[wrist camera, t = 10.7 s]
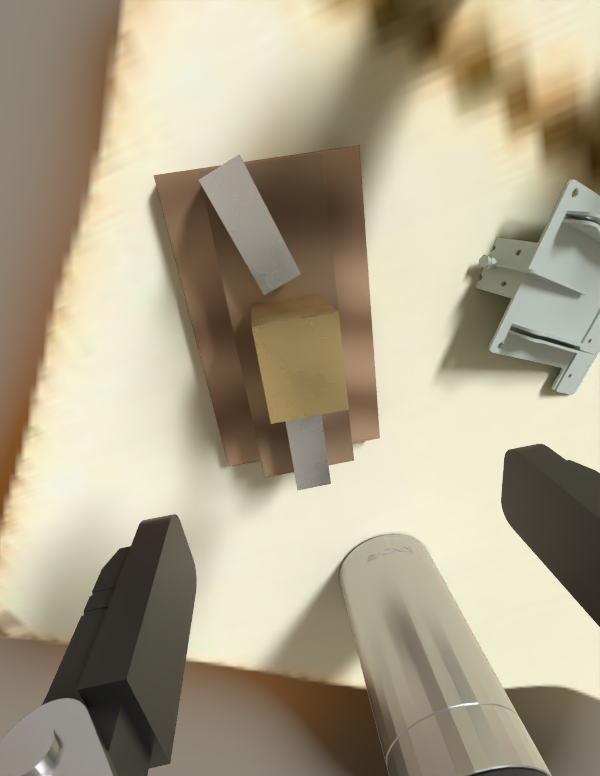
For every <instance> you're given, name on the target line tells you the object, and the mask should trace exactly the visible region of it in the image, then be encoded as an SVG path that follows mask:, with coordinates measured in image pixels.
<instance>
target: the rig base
mask: <svg viewBox="0 0 600 776" xmlns="http://www.w3.org/2000/svg"><path fill="white" fill-rule="evenodd" d="M244 164H245V166H246V168H247V170H248V172H249V174H250V176H251V178H252V180H253V182H254V184H255V186H256V187H257V189H258V191H259V193H260V195H261V197H262V199H263V201H264V203H265V205H266V207H267V209H268V211H269V213H270V215H271V217H272V219H273V221H274V222H275V224H276V226H277V228H278V230H279V232H280V234H281V236H282V238H283V240H284V242H285V244H286V246H287V248H288V250H289V252H290V254H291V255H292V257H293V259H294V261H295V263H296V265H297V267H298V269H299V271H300V273H301V274H300V275H299V276H297V277H295V278H294V279H292V280H290V281H288V282H287V283H285V284H283V285H281V286H280V287H278V288H276V289H274V290H273V291H271V292H269V293H267V294H266V295H264V294H263V292H262V291H261V289H260V287H259V285H258V284H257V282H256V280H255V278H254V277H253V275H252V273H251V271H250V270H249V268H248V266H247V264H246V263H245V261H244V259H243V257H242V255H241V254H240V252H239V250H238V248H237V247H236V245H235V243H234V241H233V240H232V238H231V236H230V234H229V233H228V231H227V229H226V227H225V226H224V224H223V222H222V220H221V219H220V217H219V215H218V213H217V212H216V210H215V208H214V206H213V205H212V203H211V201H210V199H209V198H208V196H207V194H206V192H205V191H204V189H203V187H202V185H201V183H200V182H199V179H201V178H202V177H204V176H205V175H207V174H209V173H210V172H212V171H214V170H215V169H217V168H219V167H220V166H214V167H208V168H201V169H194V170H187V171H180V172H173V173H166V174H160V175H154V179H155V182H156V186H157V190H158V194H159V198H160V202H161V206H162V210H163V213H164V217H165V221H166V225H167V229H168V233H169V237H170V241H171V244H172V248H173V252H174V256H175V260H176V264H177V268H178V272H179V275H180V279H181V283H182V287H183V291H184V295H185V299H186V303H187V306H188V310H189V314H190V318H191V322H192V326H193V330H194V334H195V337H196V341H197V345H198V349H199V353H200V357H201V361H202V365H203V368H204V372H205V376H206V380H207V384H208V388H209V392H210V396H211V399H212V403H213V407H214V411H215V415H216V419H217V423H218V427H219V430H220V434H221V438H222V442H223V446H224V450H225V454H226V458H227V461H228V465H229V466H234V465H240V464H245V463H250V462H256V461H261V462H262V467H263V471H264V476H265V477H270V476H275V475H280V474H285V473H291V472H294V467H293V461H292V456H291V450H290V445H289V439H288V433H287V428H286V422H285V421H284V422H279V423H273V424H271V422H270V417H269V412H268V407H267V402H266V397H265V392H264V387H263V382H262V377H261V372H260V366H259V361H258V356H257V351H256V346H255V341H254V336H253V331H252V317H251V305H252V304H258V303H264V302H270V301H276V300H282V299H288V298H294V297H300V296H306V295H312V294H318V293H319V294H320V295H321V296H322V297H323V298H324V299H325V300H326V301H327V302H329V303H330V304H331V305H332V306H333V307H334V308H335V309H336V310H337V311H338V312H339V320H340V330H341V339H342V349H343V358H344V368H345V377H346V387H347V397H348V406H349V410H343V411H338V412H332V413H327V414H322V422H323V430H324V437H325V445H326V452H327V459H328V465H333V464H338V463H343V462H348V461H354V456H353V446H352V443H356V442H362V441H367V440H372V439H378V438H380V435H379V421H378V407H377V392H376V378H375V363H374V349H373V334H372V320H371V306H370V291H369V277H368V262H367V248H366V234H365V219H364V205H363V190H362V176H361V161H360V147H359V146H352V147H345V148H338V149H331V150H324V151H317V152H311V153H304V154H297V155H290V156H283V157H276V158H269V159H263V160H256V161H249V162H244ZM221 166H222V165H221Z"/></svg>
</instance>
